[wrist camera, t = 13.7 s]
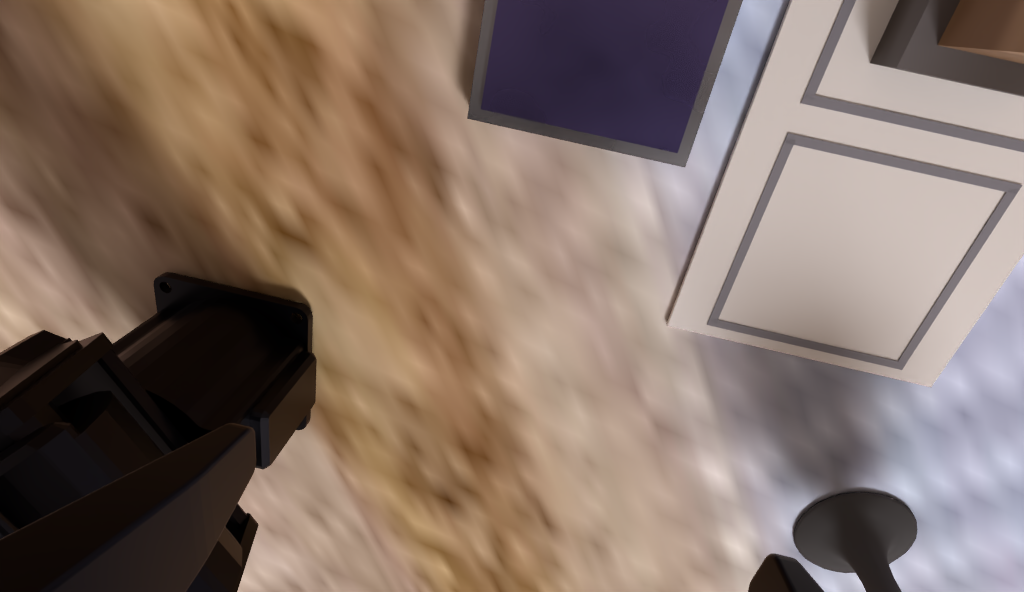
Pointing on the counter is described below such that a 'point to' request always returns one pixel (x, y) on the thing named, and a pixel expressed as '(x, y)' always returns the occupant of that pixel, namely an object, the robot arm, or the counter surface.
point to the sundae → (857, 536)
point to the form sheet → (859, 205)
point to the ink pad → (602, 70)
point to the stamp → (958, 42)
